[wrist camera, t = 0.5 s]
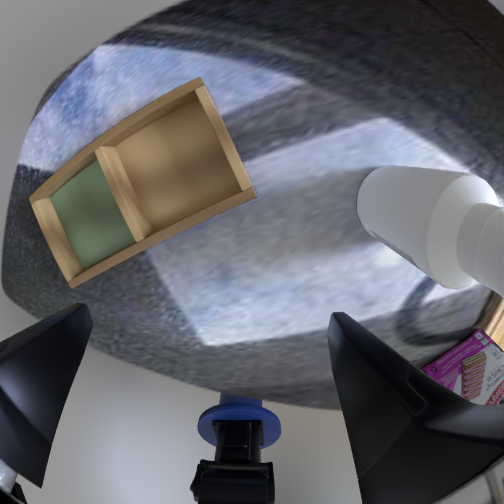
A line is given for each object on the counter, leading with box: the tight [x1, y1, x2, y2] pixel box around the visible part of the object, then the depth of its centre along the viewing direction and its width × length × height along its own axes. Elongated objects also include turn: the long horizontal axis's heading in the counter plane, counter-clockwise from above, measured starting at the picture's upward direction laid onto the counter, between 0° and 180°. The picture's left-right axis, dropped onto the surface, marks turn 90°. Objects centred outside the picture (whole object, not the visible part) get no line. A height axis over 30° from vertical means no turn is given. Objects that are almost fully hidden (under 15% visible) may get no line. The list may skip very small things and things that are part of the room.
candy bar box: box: [421, 328, 504, 405], centre depth 20 cm, size 11×5×16 cm, turn 119°
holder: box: [29, 77, 257, 289], centre depth 21 cm, size 10×19×3 cm, turn 114°
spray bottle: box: [357, 165, 504, 298], centre depth 14 cm, size 7×7×18 cm
